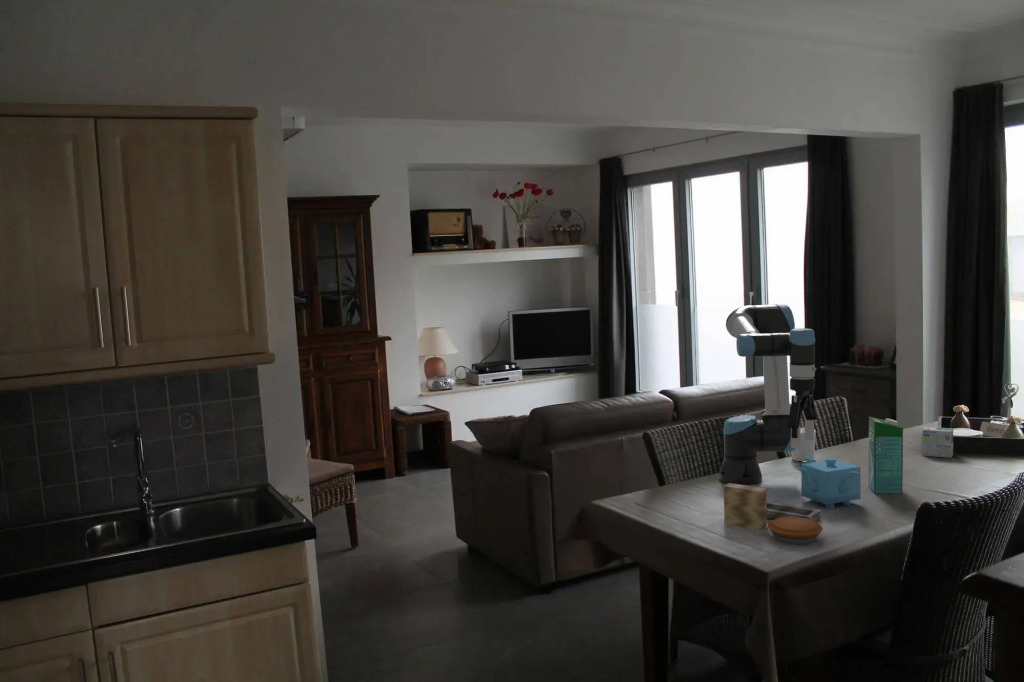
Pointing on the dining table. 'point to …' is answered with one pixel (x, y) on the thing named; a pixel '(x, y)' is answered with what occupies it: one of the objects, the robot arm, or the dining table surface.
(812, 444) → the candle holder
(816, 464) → the blue lidded box
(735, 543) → the dining table surface
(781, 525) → the pie
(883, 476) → the milk carton
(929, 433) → the light bulb box
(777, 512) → the tray
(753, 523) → the beige square slab
